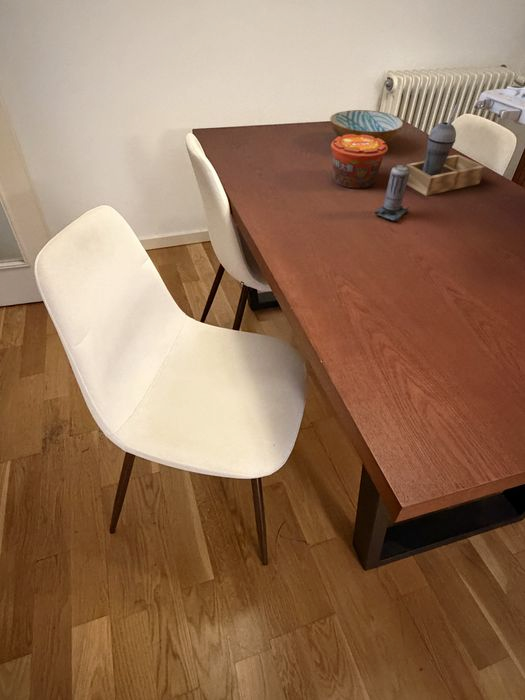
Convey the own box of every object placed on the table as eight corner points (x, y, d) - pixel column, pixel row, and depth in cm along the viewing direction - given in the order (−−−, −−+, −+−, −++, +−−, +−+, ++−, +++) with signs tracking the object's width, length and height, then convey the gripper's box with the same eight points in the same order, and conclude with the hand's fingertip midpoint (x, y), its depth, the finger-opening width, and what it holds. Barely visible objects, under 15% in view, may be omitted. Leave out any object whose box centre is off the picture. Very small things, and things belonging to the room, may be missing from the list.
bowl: (314, 147, 141) (316, 122, 135) (346, 129, 156) (349, 106, 150) (381, 163, 131) (387, 136, 125) (408, 142, 146) (414, 117, 140)
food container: (345, 195, 113) (351, 155, 106) (317, 174, 124) (321, 137, 116) (391, 186, 118) (400, 147, 111) (360, 167, 128) (367, 130, 121)
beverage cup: (421, 174, 122) (442, 98, 108) (444, 180, 119) (470, 103, 105) (412, 182, 117) (433, 104, 103) (436, 188, 114) (462, 109, 100)
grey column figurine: (380, 205, 109) (391, 159, 101) (409, 211, 107) (422, 164, 98) (371, 219, 103) (382, 171, 95) (401, 226, 101) (415, 178, 93)
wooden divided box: (452, 170, 127) (458, 154, 124) (479, 183, 120) (485, 166, 117) (400, 181, 121) (405, 164, 117) (425, 195, 114) (431, 178, 110)
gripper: (553, 129, 106) (511, 134, 103) (498, 108, 119) (459, 112, 116) (566, 102, 101) (522, 106, 98) (507, 84, 115) (467, 87, 112)
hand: (487, 109), depth 107 cm, fingers open, 8 cm apart
